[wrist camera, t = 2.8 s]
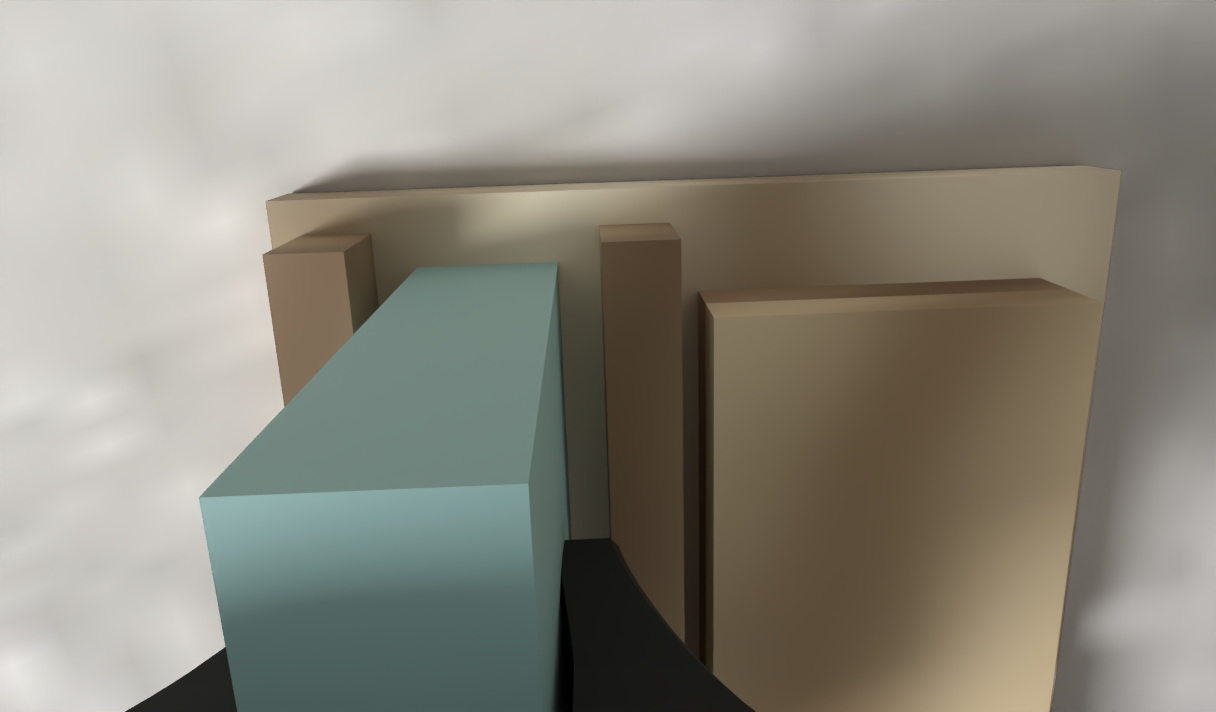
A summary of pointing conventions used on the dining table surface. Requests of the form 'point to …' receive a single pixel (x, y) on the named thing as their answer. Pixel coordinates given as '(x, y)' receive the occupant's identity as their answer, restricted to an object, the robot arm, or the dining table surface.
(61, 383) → the dining table surface
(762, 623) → the oak offcut
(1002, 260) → the rack
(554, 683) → the teal panel
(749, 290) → the tan flat block
